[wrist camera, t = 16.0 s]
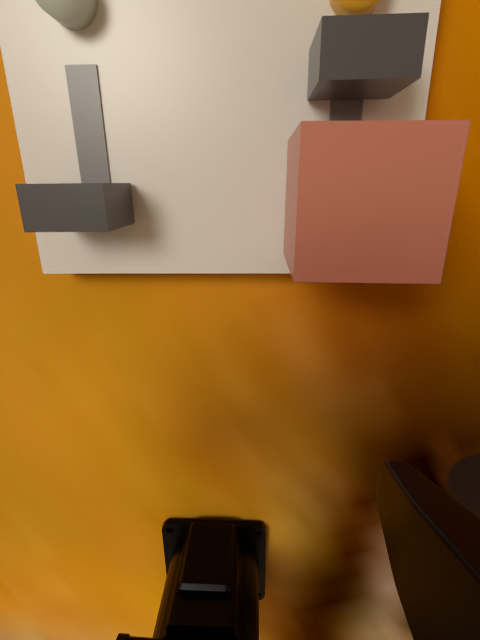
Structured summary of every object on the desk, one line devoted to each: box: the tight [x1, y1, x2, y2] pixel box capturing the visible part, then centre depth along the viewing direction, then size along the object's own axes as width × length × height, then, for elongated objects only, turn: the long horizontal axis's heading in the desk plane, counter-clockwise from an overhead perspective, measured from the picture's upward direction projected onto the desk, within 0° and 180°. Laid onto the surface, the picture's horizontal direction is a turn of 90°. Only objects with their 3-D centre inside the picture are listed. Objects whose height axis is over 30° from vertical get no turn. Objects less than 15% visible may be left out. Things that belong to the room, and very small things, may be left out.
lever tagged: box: [307, 12, 429, 101], centre depth 13 cm, size 2×3×3 cm, turn 91°
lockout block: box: [283, 120, 471, 284], centre depth 13 cm, size 4×4×5 cm
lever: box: [15, 183, 135, 232], centre depth 15 cm, size 2×3×3 cm, turn 91°
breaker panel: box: [0, 0, 441, 274], centre depth 15 cm, size 11×16×3 cm
